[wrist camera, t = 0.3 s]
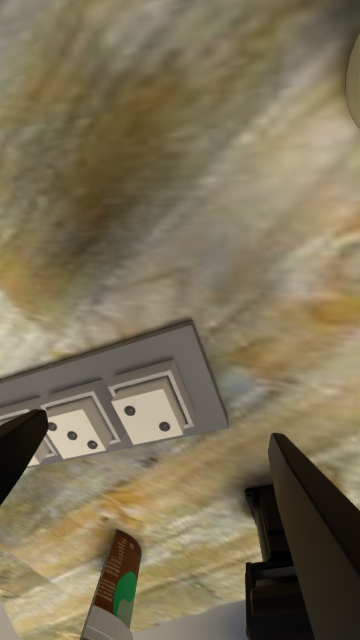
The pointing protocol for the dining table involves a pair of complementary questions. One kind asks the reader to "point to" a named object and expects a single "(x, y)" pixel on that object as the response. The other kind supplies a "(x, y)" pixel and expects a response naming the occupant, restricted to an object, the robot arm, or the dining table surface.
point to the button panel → (123, 384)
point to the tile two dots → (149, 410)
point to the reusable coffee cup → (354, 82)
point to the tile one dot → (41, 450)
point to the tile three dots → (78, 428)
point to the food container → (115, 592)
